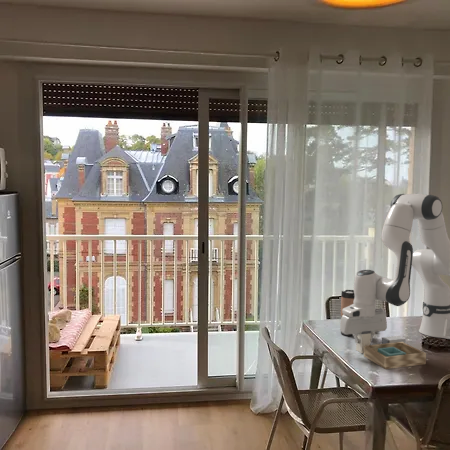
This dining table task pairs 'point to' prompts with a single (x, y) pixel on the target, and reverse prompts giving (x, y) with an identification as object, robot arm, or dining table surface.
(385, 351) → the teal socket
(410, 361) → the birch crate
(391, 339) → the grey plug
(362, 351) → the ivory connector
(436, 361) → the dining table surface
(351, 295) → the travel mug
